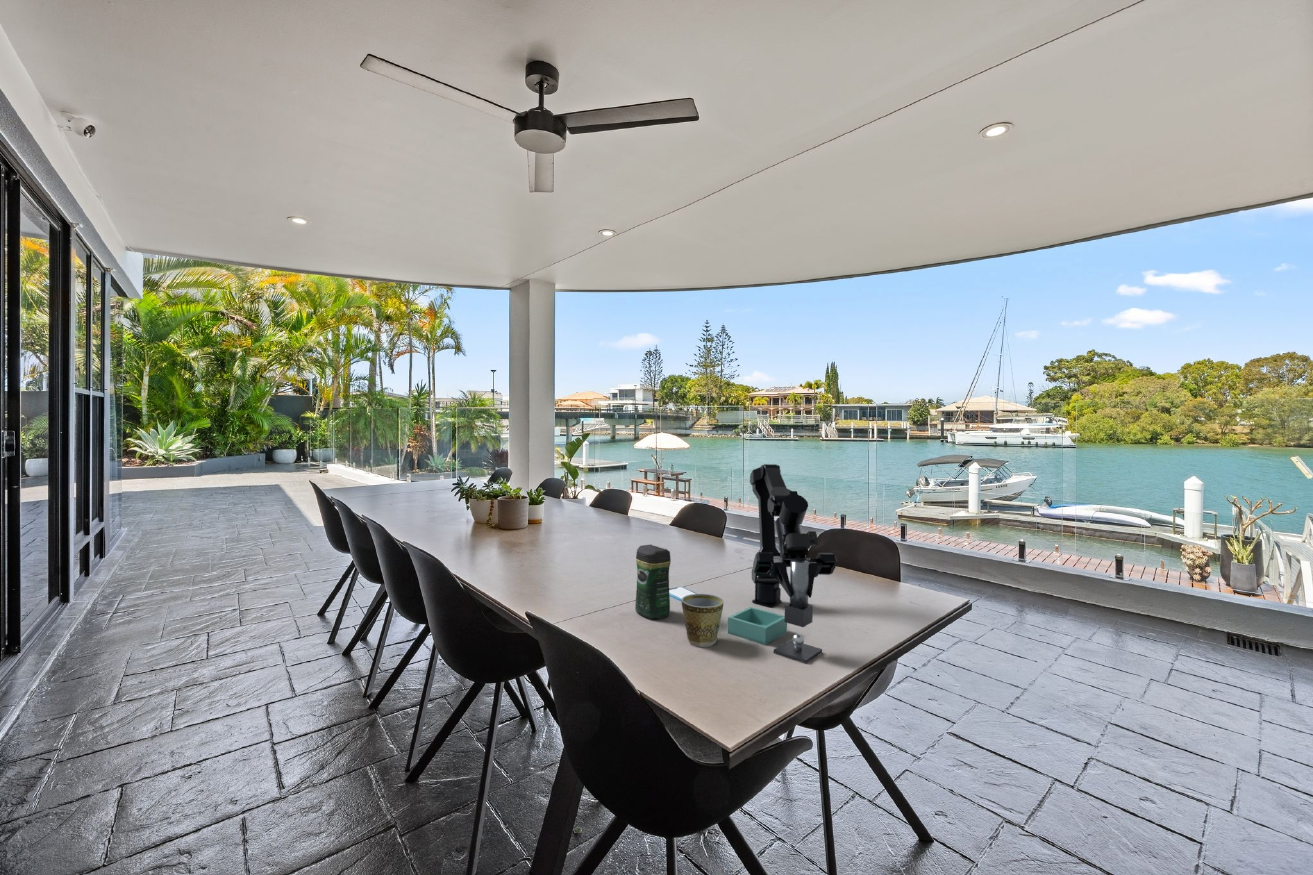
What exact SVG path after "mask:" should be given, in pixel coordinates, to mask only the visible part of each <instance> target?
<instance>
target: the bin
mask: <svg viewBox="0 0 1313 875" xmlns="http://www.w3.org/2000/svg"><path fill="white" fill-rule="evenodd" d="M784 618H785V615H783V614H782V615H781V614H778V613H775V612H771V611H767V610H764V609H760V608H755V607H753V606H748V607H747V608H745V609H743V610H741V611H739V612H736V613H734V614H731V615H729V616H728V617H727V634H729V635H732V636H734V637H735V636H736V637H739V638H742V639H745V640H748V641H751V642H753V643H754V642H755V643H756V644H761V645H764V646H766V645H768V644H770V643H771V642H773V641H775V640H777V639H778V638H780V637H782V636H783V635H785V634H787V633H788V623H786V622H784Z"/></svg>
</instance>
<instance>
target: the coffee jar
mask: <svg viewBox="0 0 1313 875" xmlns="http://www.w3.org/2000/svg"><path fill="white" fill-rule="evenodd" d="M635 554H636V555H635V561H636V573H637V574H636V590H635V607H634V608H635V612H636V613H637V614H639V615H641V616H642V617H645V618H647V619H662V618H663V619H664V618H665V617H667V616H669V615H670V613H671V602H670V601H671V600H670V599H671V597H670V596H669V589H670V566H671V560H672V559H671V552H670V550H668V549H667V548H663V547H659V546H657V545H653V544H644V545H640V546H638V548H637V549H636V553H635Z"/></svg>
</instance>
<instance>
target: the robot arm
mask: <svg viewBox="0 0 1313 875" xmlns="http://www.w3.org/2000/svg"><path fill="white" fill-rule="evenodd" d="M781 473H782V472H781V468H780V465H779V464H774V463H773V464H770V463H768V464H765V463H764V464H762V465H760V467H757V468H755V469H752V470H751V473H750V476H749V482H750V485H751V488H752V492H753V494H754V495H755V497H756V498H757V502H758V504H757V505H758V522H759V523H758V526H759V546H760V548H759V550H758V551H757V552H756V553H755V555H754V560H753V564H752V569H751V581H752V582H753V583H754V598H753V599H752V600H751V603H754V604H756V605H762V606H764V607H769V608H773V607H775V606H777V605H778V604H779V605H780V604H781V603H783V602H782V600H781V595H782V594H781V592H782V589H781V588H780V586H781V587H782V588H783V590H784V591H785V593H786V594H787V596H788V597H789V598H790V597H792V590H791V585H790V579H789V575H788V568H791V560H793V559H801V560H806V561H808V562H809V580H808V599H809V598H810V599H811V598H812V595H813V588H814V584H815V578H817V577H818V576H819V575H820V576H821V575H822V576H823V575H825V576H828V575H829V576H830V575H832V574H833V573H834V571H835V569H836V567H837V565H838V558H837V556H836V555H835V554H834V553H833V552H818V553H817V555H816V557H815V558H810V557H809V558H807V557H806V556H808V555H809V554H810V552H809V549H811V547H816V546H817V545H818V543H819V540H818V538H819V537H818V534H817V531H812V530H811V531H810V530H809V531H808V532H806V533H802V532H801V527H800V525H802V524H803V521H804V520H805V517H806V513H807V510H808V507H809V502H808V501H807V499H806V498H805V497H803V496H802V495H799V494H798V491H796V490H791V489H789V488H787V486H786V483H785V481H784V479H783V478H784V477H783V476H782V474H781ZM775 517H777V518H776V520H775ZM776 535H777V541H778V548H777V547H776V544H777V543H776Z"/></svg>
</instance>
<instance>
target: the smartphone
mask: <svg viewBox="0 0 1313 875" xmlns="http://www.w3.org/2000/svg"><path fill="white" fill-rule="evenodd" d="M691 594H698V593H697V592H694V591H693V590H691V589H689V588H686V587H683V586H677V587H672V588H669V597H670V598H673V599H675V600H676V601H679V602H682V598H683V597H685V596H687V595H691Z"/></svg>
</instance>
